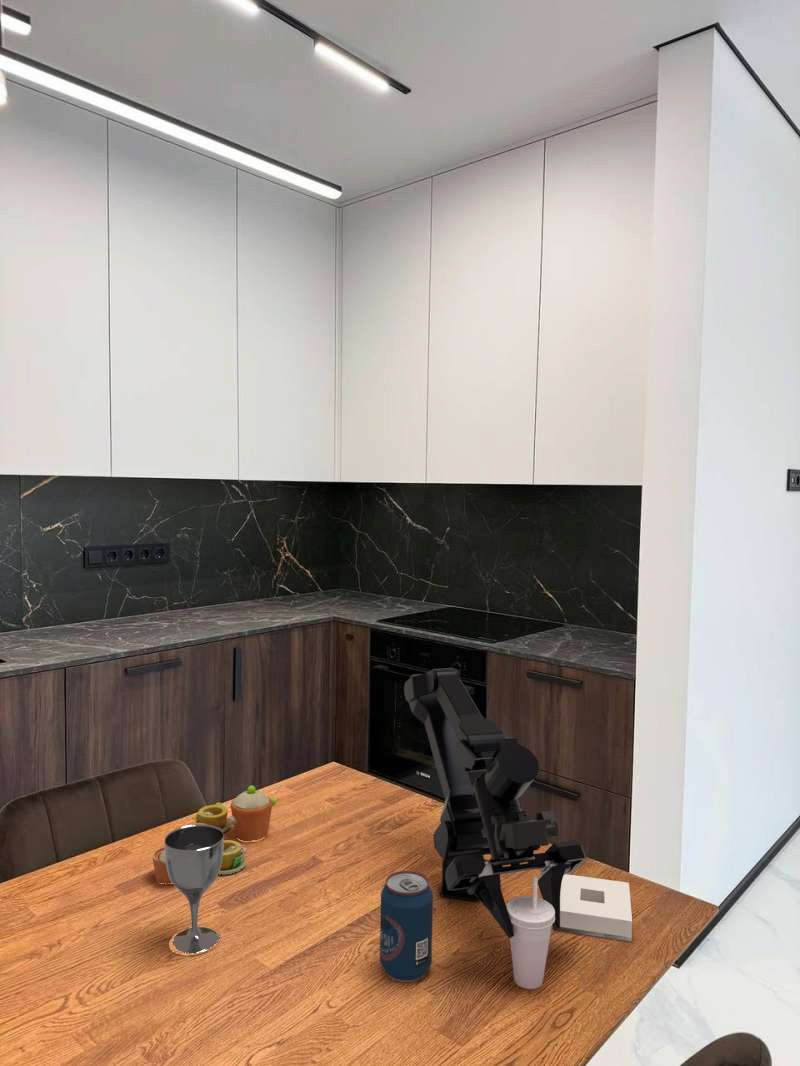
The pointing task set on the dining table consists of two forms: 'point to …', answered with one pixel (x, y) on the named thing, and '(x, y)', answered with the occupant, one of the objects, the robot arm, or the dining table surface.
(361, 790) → the dining table surface
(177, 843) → the wine glass
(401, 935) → the soda can
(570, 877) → the flat gift box
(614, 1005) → the dining table surface
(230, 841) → the toy tea set
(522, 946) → the smoothie
